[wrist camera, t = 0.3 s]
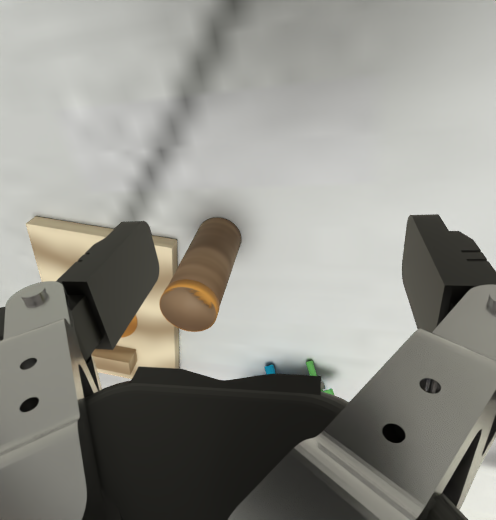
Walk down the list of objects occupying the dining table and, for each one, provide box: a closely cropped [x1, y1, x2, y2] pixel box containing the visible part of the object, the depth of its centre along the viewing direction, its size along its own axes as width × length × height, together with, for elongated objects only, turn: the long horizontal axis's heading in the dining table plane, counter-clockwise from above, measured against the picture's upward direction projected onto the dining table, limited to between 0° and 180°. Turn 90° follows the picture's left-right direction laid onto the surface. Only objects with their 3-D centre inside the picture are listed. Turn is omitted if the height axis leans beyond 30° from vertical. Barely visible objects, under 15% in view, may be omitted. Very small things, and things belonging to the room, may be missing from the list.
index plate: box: [26, 216, 179, 379], centre depth 40 cm, size 20×14×4 cm
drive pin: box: [159, 218, 241, 332], centre depth 31 cm, size 4×4×10 cm
